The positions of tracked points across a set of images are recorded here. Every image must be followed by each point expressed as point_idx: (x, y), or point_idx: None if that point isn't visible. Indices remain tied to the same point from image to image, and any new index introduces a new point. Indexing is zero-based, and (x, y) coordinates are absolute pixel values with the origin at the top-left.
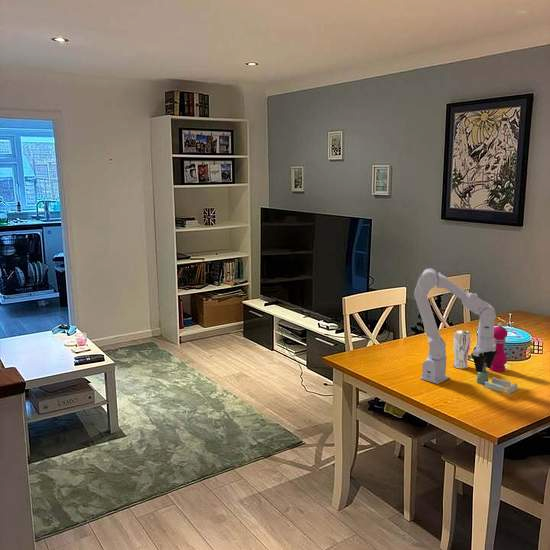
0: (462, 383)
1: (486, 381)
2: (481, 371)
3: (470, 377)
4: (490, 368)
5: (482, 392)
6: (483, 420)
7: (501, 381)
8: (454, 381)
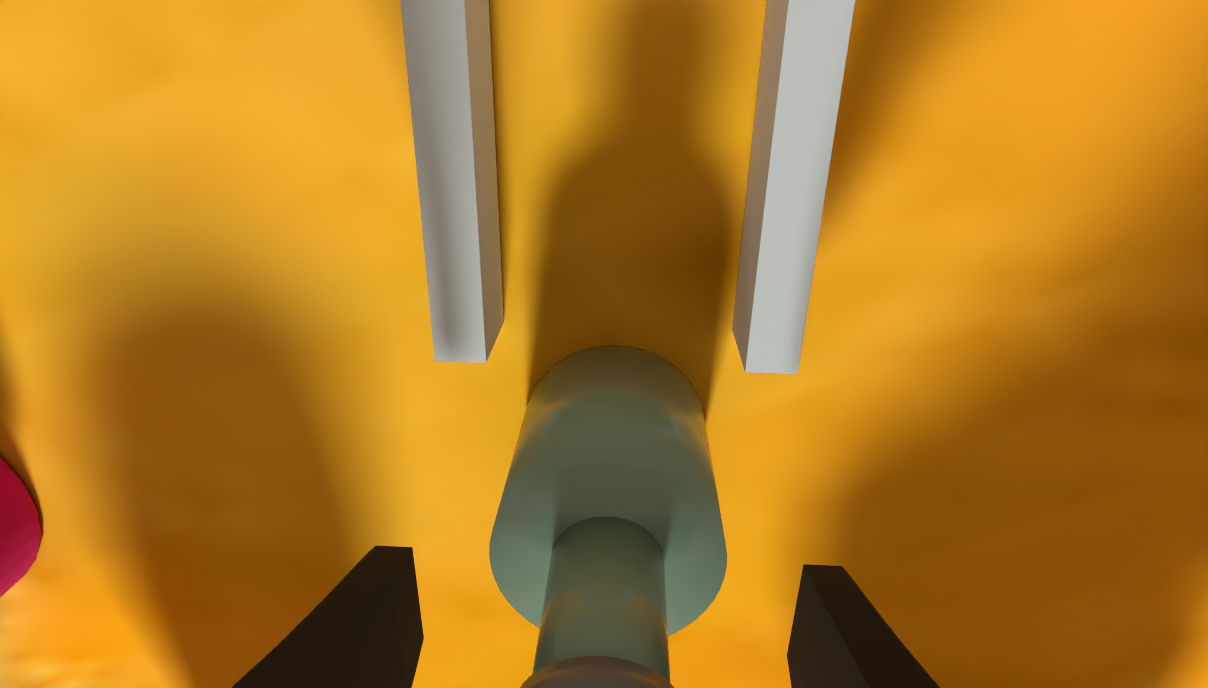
0: None
1: (653, 380)
2: (853, 582)
3: None
4: (21, 566)
5: (1059, 246)
6: None
7: (477, 164)
8: None
